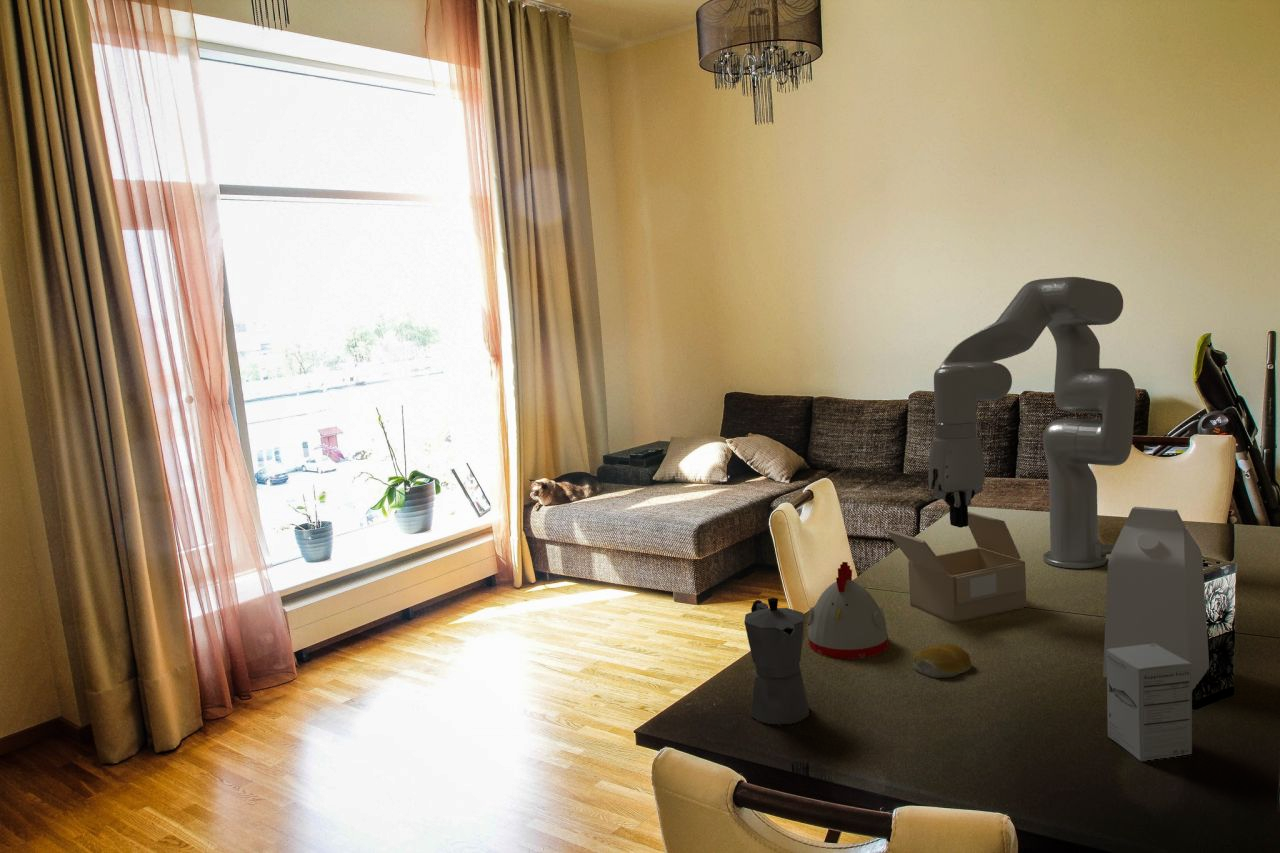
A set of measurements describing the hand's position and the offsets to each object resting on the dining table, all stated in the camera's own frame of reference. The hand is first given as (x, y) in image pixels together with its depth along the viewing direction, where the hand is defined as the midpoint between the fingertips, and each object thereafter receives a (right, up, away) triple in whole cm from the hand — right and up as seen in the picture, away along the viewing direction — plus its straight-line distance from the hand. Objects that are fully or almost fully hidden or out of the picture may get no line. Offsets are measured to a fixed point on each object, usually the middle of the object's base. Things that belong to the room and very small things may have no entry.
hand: (959, 525), depth 179 cm
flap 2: (+9, -6, +4) cm, 12 cm away
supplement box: (+6, -23, -57) cm, 61 cm away
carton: (+2, -16, +2) cm, 16 cm away
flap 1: (-6, -8, -1) cm, 10 cm away
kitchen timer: (-24, -20, -12) cm, 34 cm away
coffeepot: (-40, -24, -37) cm, 60 cm away
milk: (+19, -19, -34) cm, 44 cm away
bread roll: (-12, -21, -26) cm, 36 cm away
